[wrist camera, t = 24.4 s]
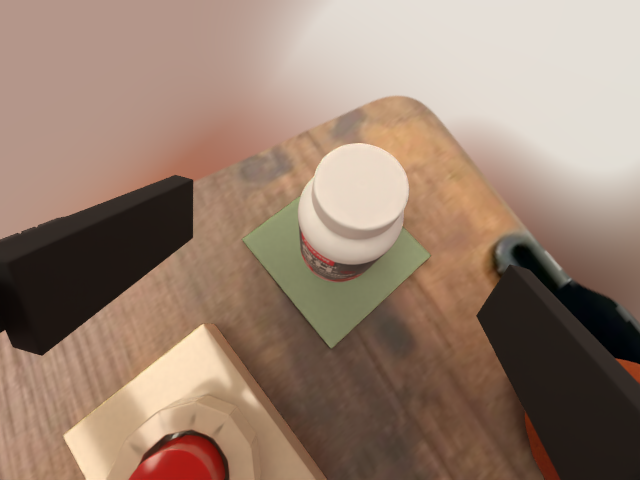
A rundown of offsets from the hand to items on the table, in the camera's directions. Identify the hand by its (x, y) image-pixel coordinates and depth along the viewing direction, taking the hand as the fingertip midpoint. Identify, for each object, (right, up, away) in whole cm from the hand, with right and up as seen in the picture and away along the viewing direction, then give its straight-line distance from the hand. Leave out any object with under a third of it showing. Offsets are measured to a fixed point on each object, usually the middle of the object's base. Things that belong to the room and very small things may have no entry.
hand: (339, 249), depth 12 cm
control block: (-8, -12, +5) cm, 16 cm away
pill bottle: (0, 0, +9) cm, 9 cm away
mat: (0, 0, +10) cm, 10 cm away
